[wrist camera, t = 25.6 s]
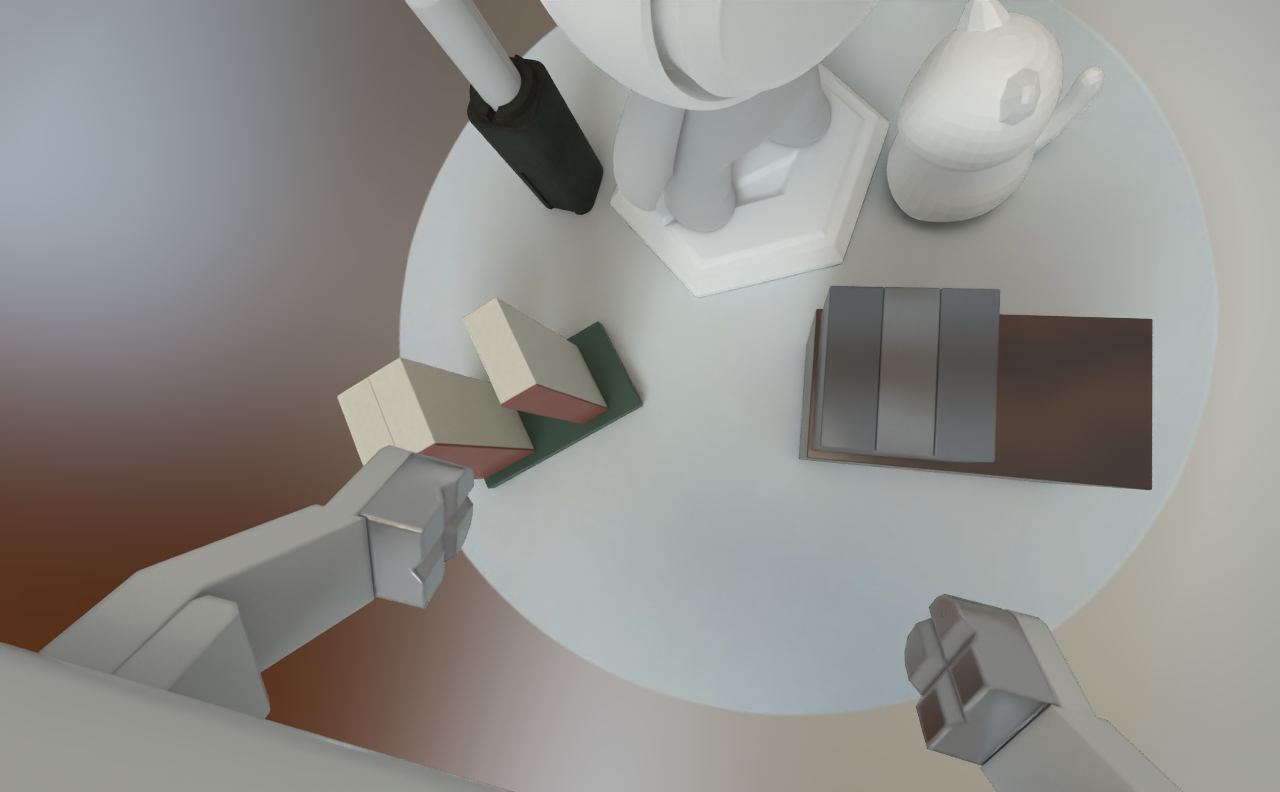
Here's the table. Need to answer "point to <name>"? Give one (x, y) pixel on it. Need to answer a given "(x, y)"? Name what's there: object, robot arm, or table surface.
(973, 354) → the grey stand
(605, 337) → the green book holder
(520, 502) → the table surface
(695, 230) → the white toy figurine
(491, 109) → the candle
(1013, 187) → the cat figurine
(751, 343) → the table surface
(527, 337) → the white book
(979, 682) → the robot arm
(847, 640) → the table surface
